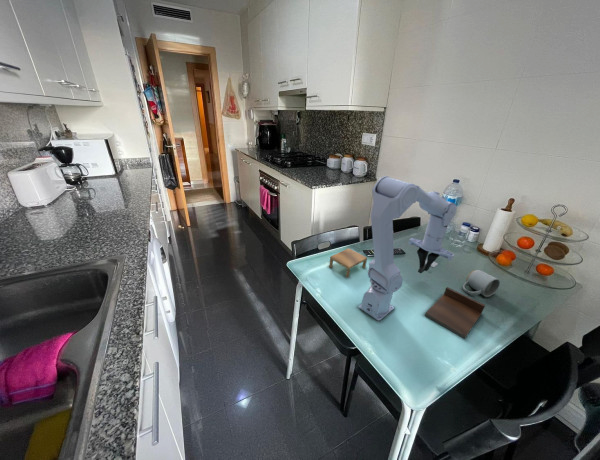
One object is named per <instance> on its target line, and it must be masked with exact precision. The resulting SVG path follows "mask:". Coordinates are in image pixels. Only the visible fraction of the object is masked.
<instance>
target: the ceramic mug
mask: <svg viewBox="0 0 600 460" xmlns="http://www.w3.org/2000/svg"><path fill="white" fill-rule="evenodd" d="M500 284H501V281H500V279H499V278H497V277H495V276H494V275H490V274H489V273H488V272H487V273H486V272H485V271H483V270H480V269H474V270H472V271H470V272H469V273H468V275H467V276H466V278H465V282H464V283H463V285H462V289H463V291H464V292H465V293H466V294H467V295H469V296H477V295H482V296H484V297H485V298H488V297H491V296H493V295H494V294H495V293H496V292H497V291H498V290H499V287H500ZM466 286H469V287H470V288H472V289H473V290H474V291H471V290H468V289H467V288H466Z"/></svg>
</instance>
